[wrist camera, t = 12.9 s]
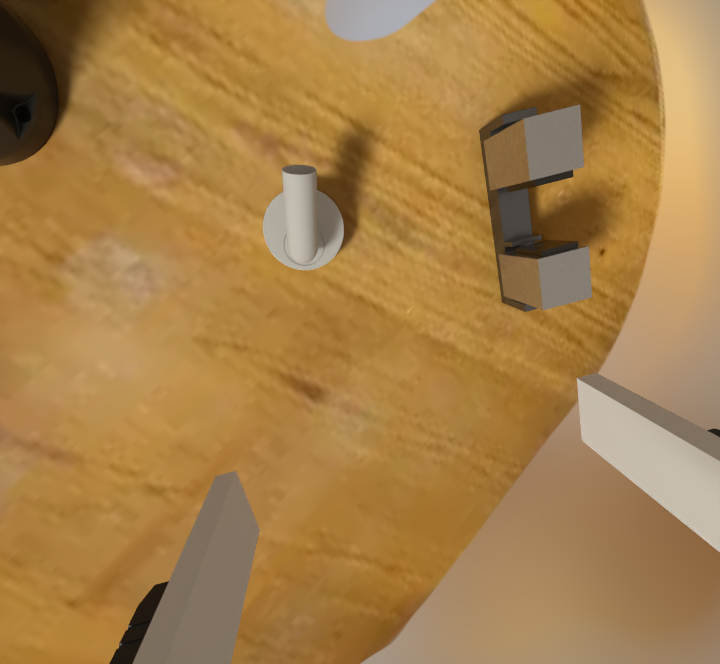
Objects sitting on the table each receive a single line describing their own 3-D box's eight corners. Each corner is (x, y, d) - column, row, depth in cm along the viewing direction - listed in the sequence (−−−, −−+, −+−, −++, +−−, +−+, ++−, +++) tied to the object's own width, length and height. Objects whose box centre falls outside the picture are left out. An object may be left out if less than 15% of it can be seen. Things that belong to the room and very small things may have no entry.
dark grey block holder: (472, 131, 40) (521, 98, 30) (515, 121, 40) (578, 84, 30) (496, 304, 46) (544, 324, 36) (534, 294, 46) (592, 311, 36)
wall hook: (348, 161, 31) (347, 278, 34) (343, 177, 40) (342, 268, 43) (245, 157, 30) (252, 277, 33) (263, 174, 40) (268, 267, 42)
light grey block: (544, 285, 43) (591, 297, 36) (504, 296, 43) (543, 310, 35) (539, 238, 42) (588, 239, 34) (497, 249, 42) (537, 252, 34)
